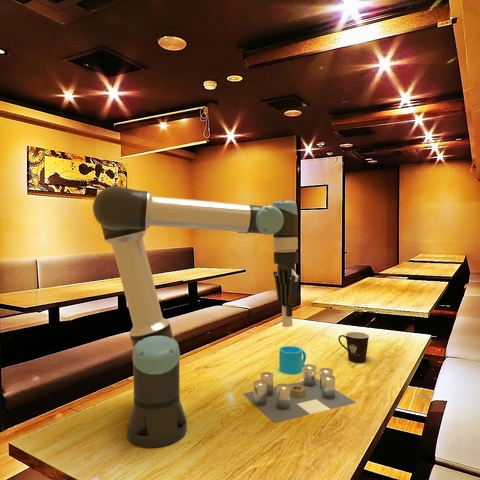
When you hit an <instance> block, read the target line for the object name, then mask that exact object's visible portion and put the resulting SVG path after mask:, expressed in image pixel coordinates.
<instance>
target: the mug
mask: <svg viewBox="0 0 480 480" xmlns="http://www.w3.org/2000/svg"><path fill="white" fill-rule="evenodd" d="M278 352H279V358H278V359H279V366H278V368H279V369H278V370H279V371H280V373H282V374H285V375H298V374H300V373H302V372H303V366H304V365H305V362H306V359H307V354H306V351H305V350H303V349H302V348H301V347H298V346H295V345H293V346H292V345H286V346H285V345H284V346H282V347H280V348H279V351H278Z"/></svg>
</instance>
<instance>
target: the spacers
mask: <svg viewBox="0 0 480 480" xmlns="http://www.w3.org/2000/svg"><path fill="white" fill-rule="evenodd" d="M316 367H317V366H316V365H315V364H311V363H310V364H309V363H306V364H303V366H302V372H303V375H302V377H303V384H304V385H305V386H307V387H313V386H315V385H316V379H317V375H316V374H317V373H316V371H317V369H316ZM259 378H260V379H259V380H255V381H253V384H252V387H253V391H252V392H253V403H254V404H253V403H252V404H253V405H254V406H255V405H257V406H264V405H266V404H267V396H271V395H273V387H274V373H272V372H271V371H270V372H269V371H263V372H261V373H260V377H259ZM319 380H320V389H321V390H322V397H323V398H325V399H334V398H335V390H336V376H334V373H333V369H332V368H329V367H321V368H320V369H319ZM275 387H276V407H277V408H278V409H280V410H287V409H289V408H290V385H288V384H287V383H277V385H276V386H275Z"/></svg>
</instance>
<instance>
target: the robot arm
mask: <svg viewBox="0 0 480 480" xmlns="http://www.w3.org/2000/svg"><path fill="white" fill-rule="evenodd" d="M297 205H298V204H297V203H296V201H294V200H275V201H273V203H272V205H256V204H245V203H234V202H223V201H214V200H213V201H210V200H202V199H201V200H199V199H191V198H180V197H179V198H178V197H165V196H156V195H153V194H152V193H151V192H150V191H145V190H137V189H132V188H129V187H125V186H119V185H113V186H108V187H106V188H105V187H104V189H102V190H101V191H99V192H98V193H97V194H96V196H95V198H94V200H93V204H92V213H93V216H94V218H95V220H96V221H97V223H98V224H99V225H100V227H101V232H102V233H103V238H104V242H106V243H107V244H110V245H111V247H112V250H113V254H114V258H115V262H116V265H117V269H118V270H117V271H118V272H119V276H120V280H121V284H122V288H123V292H124V296H125V300H126V304H127V308H128V310H129V316H130V319H131V323H132V327H131V329H130V331H129V337H130V340H131V341H130V342H131V344H132V349H133V350H132V355H131V357H132V358H131V360H132V363H133V364H132V366H133V367H132V370H133V377H132V379H133V381H132V382H133V406H132V409H131V413H130V416H129V420H128V422H127V426H126V435H127V439H128V441H129V442H130V443H131V444H132V445H135V446H138V447H142V448H159V447H164V446H169V445H173V444H174V443H175V442H177V441H180V440H181V439H182V438H183V437H184V436H185V435H186V433H187V430H188V429H187V428H188V424H187V423H188V420H187V417H186V414H185V411H184V408H183V405H182V403H181V402H182V401H181V397H180V396H181V394H180V392H181V389H180V385H181V384H180V383H181V381H180V358H181V352H180V351H181V350H180V346H179V343H178V341H177V340H175V338H174V335H173V331H172V327H171V323H170V321H169V320H168V319H166V318H164V317H163V312H162V309H161V306H160V301H159V298H158V293H157V289H156V287H155V286H156V285H155V282H154V277H153V274H152V270H151V266H150V262H149V257H148V254H147V250H146V247H145V246H146V245H145V243H144V236H145V234H146V232H147V230H148V228H150V227H151V226H152V227H165V228H177V229H190V230H191V229H193V230H206V231H207V230H208V231H221V232H232V233H233V232H234V233H238V234H245V235H246V234H260V235H269V236H270V235H271V236H272V237H273V239H272V240H273V242H272V243H273V244H272V245H273V250H274V252H273V264H275V265H277V270H276V271H273V277H274V283H275V289H276V297H277V302H279V303H280V305H281V315H282V319H281V320H282V321H281V323H282V324H281V325H282V327H284V328H288V327H293V306H295V305H297V304H298V303H297V302H298V294H299V292H298V291H299V285H300V280H301V278H302V277H301V275H300V274H297V273H296V271H297V269H296V264H298V263H299V252H298V251H297V250H298V249H299V246H298V245H299V244H298V243H299V240H298V216H299V215H298V207H297Z"/></svg>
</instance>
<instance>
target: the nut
mask: <svg viewBox="0 0 480 480" xmlns="http://www.w3.org/2000/svg"><path fill="white" fill-rule="evenodd" d="M290 395H291V397H294V398H302V397H304V396H305V388H304V387H303V386H297V385H294V386H291V387H290Z"/></svg>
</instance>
